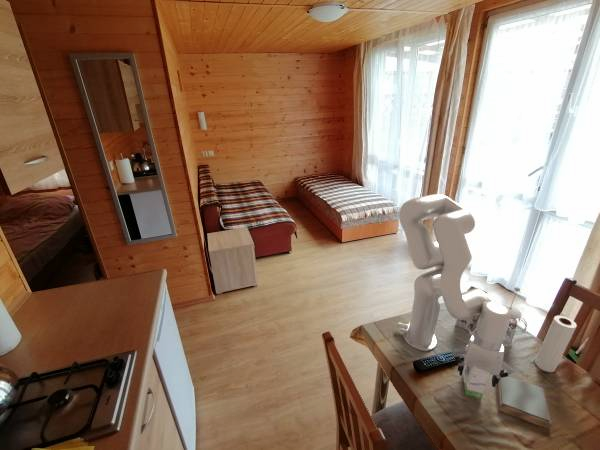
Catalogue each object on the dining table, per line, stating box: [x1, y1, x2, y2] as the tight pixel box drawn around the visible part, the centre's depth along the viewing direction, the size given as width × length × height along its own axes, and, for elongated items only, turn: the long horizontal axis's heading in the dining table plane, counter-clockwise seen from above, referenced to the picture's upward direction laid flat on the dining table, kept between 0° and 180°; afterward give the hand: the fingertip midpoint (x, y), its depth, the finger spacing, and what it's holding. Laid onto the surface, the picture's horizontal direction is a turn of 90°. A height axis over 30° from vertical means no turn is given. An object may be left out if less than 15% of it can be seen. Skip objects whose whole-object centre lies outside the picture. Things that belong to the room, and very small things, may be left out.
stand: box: [495, 375, 552, 430], centre depth 97 cm, size 13×13×3 cm
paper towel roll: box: [534, 311, 577, 373], centre depth 105 cm, size 7×6×21 cm
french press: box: [502, 286, 528, 347], centre depth 117 cm, size 10×12×25 cm
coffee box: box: [455, 285, 488, 333], centre depth 126 cm, size 9×6×16 cm
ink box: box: [462, 365, 491, 399], centre depth 100 cm, size 8×5×12 cm, turn 159°
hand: (476, 377), depth 100 cm, fingers open, 9 cm apart
